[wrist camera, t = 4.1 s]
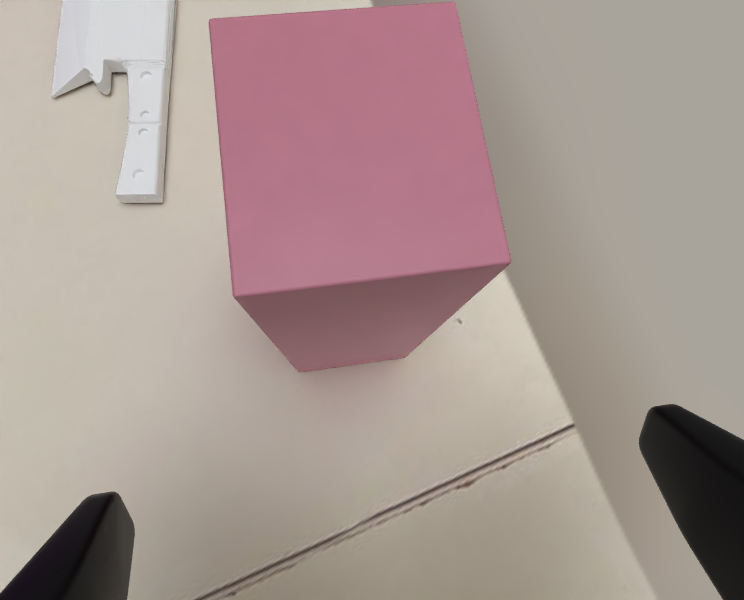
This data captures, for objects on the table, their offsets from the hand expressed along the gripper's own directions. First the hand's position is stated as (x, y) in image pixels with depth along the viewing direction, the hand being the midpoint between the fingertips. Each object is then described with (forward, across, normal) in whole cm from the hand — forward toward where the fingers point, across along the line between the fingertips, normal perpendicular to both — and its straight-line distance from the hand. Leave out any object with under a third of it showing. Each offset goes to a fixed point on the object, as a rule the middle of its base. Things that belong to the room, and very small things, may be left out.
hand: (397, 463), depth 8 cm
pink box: (+12, 0, +4) cm, 13 cm away
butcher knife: (+21, +9, -5) cm, 23 cm away
